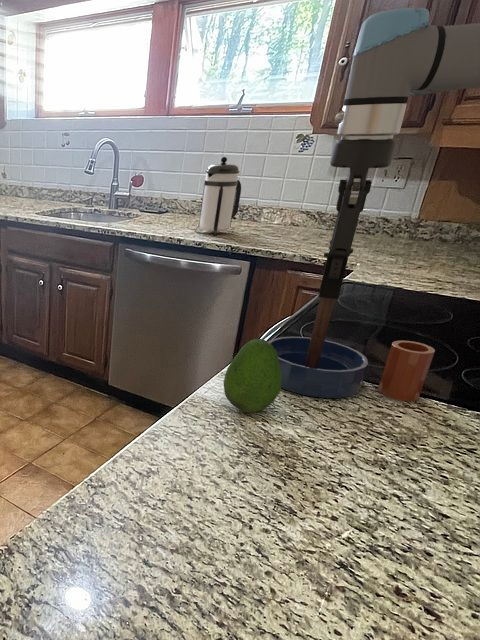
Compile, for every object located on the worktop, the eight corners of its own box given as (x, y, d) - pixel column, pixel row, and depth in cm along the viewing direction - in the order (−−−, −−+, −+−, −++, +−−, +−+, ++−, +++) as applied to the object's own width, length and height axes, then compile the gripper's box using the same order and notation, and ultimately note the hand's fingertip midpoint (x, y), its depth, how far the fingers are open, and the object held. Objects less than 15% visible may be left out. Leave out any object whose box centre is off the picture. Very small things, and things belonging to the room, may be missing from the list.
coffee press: (235, 237, 212) (248, 157, 200) (194, 235, 217) (204, 157, 205) (234, 229, 227) (246, 155, 215) (195, 228, 232) (205, 155, 220)
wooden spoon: (305, 362, 92) (337, 223, 82) (318, 365, 91) (352, 224, 81) (304, 369, 89) (337, 226, 80) (317, 371, 88) (352, 227, 79)
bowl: (315, 361, 99) (322, 334, 97) (381, 397, 86) (391, 367, 83) (242, 367, 97) (247, 339, 95) (297, 406, 83) (305, 375, 81)
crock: (396, 388, 88) (412, 339, 85) (426, 404, 83) (444, 352, 80) (368, 391, 88) (383, 341, 84) (396, 407, 83) (413, 354, 79)
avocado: (254, 427, 78) (269, 352, 73) (209, 406, 84) (221, 336, 79) (285, 412, 82) (301, 341, 77) (240, 393, 88) (253, 326, 83)
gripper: (335, 137, 83) (304, 281, 93) (335, 139, 71) (299, 304, 81) (393, 136, 80) (354, 286, 89) (402, 138, 68) (357, 311, 77)
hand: (328, 295), depth 85 cm, fingers closed on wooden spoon, 2 cm apart
